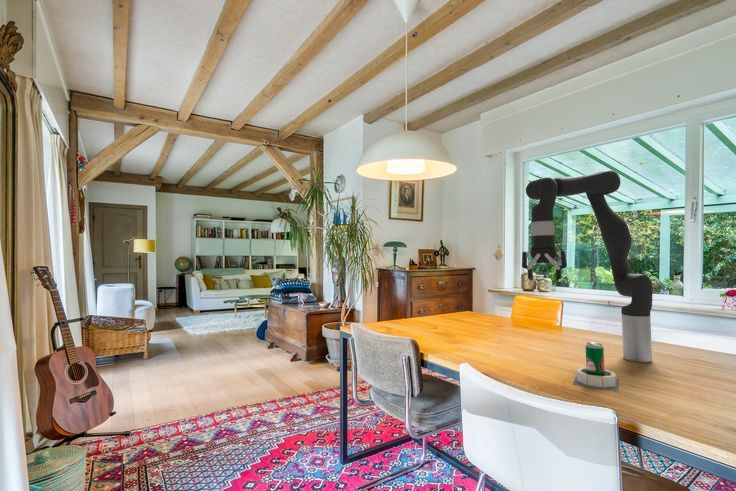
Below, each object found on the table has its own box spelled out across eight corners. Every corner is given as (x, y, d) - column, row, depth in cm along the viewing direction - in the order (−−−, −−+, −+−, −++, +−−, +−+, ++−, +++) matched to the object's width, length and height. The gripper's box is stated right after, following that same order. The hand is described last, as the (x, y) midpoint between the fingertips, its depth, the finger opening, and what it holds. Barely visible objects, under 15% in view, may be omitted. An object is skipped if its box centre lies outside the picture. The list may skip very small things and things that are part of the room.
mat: (577, 374, 129) (577, 373, 129) (619, 380, 122) (619, 379, 122) (572, 385, 118) (572, 384, 118) (618, 393, 111) (618, 391, 111)
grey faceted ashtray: (579, 374, 127) (579, 365, 128) (616, 380, 121) (615, 370, 122) (575, 383, 119) (575, 373, 119) (615, 389, 113) (614, 379, 113)
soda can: (582, 379, 123) (581, 342, 123) (597, 378, 123) (596, 341, 123) (593, 384, 118) (592, 345, 118) (608, 383, 118) (607, 345, 118)
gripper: (566, 234, 133) (568, 280, 132) (524, 236, 141) (525, 279, 140) (563, 233, 127) (565, 281, 126) (519, 235, 135) (520, 280, 134)
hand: (544, 280), depth 133 cm, fingers open, 8 cm apart
